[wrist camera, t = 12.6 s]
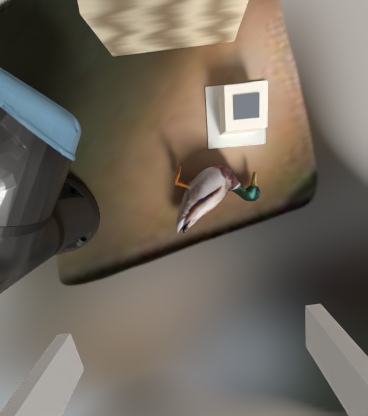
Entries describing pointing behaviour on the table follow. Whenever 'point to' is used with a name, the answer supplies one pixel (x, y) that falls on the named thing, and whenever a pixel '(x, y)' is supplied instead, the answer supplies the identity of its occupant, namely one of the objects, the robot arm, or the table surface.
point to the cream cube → (243, 108)
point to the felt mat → (214, 124)
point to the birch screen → (162, 23)
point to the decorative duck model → (210, 193)
